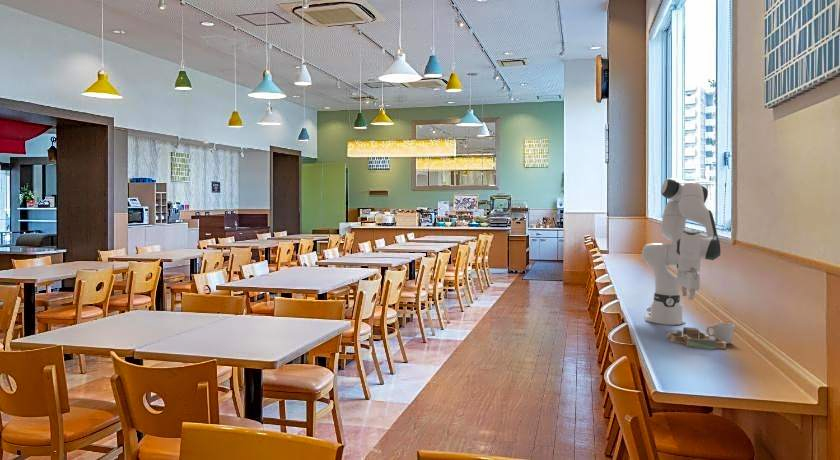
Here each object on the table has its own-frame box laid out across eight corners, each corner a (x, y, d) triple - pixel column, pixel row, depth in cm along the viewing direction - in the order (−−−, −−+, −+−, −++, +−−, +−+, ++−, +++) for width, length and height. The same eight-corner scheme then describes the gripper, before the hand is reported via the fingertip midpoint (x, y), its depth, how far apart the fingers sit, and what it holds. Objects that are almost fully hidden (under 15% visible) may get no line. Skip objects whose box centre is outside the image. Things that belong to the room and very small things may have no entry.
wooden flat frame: (666, 337, 282) (666, 329, 282) (712, 339, 280) (712, 332, 280) (677, 346, 265) (678, 338, 264) (727, 349, 262) (727, 341, 262)
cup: (705, 342, 275) (706, 323, 275) (706, 339, 282) (707, 320, 282) (733, 345, 270) (734, 327, 270) (734, 342, 277) (735, 323, 277)
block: (682, 338, 282) (683, 327, 282) (694, 339, 282) (695, 327, 281) (686, 340, 277) (686, 329, 277) (698, 341, 277) (698, 330, 276)
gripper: (704, 269, 274) (702, 301, 275) (689, 264, 295) (687, 294, 295) (689, 268, 275) (687, 301, 276) (675, 264, 295) (673, 294, 296)
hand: (687, 297), depth 286 cm, fingers open, 8 cm apart
